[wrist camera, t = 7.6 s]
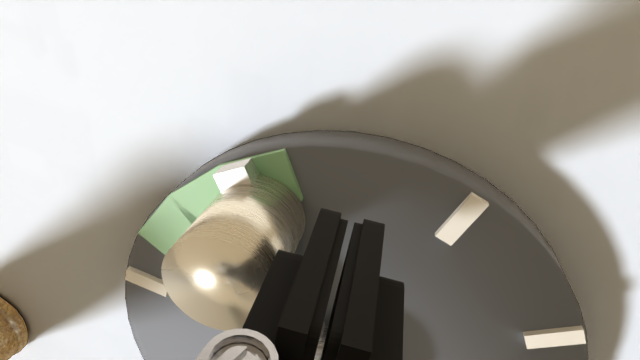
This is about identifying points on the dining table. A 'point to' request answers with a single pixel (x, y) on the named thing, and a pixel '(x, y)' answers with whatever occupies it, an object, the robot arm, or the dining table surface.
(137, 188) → the dining table surface
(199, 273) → the needle
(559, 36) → the dining table surface
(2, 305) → the spice jar
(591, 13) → the dining table surface
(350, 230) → the dial
